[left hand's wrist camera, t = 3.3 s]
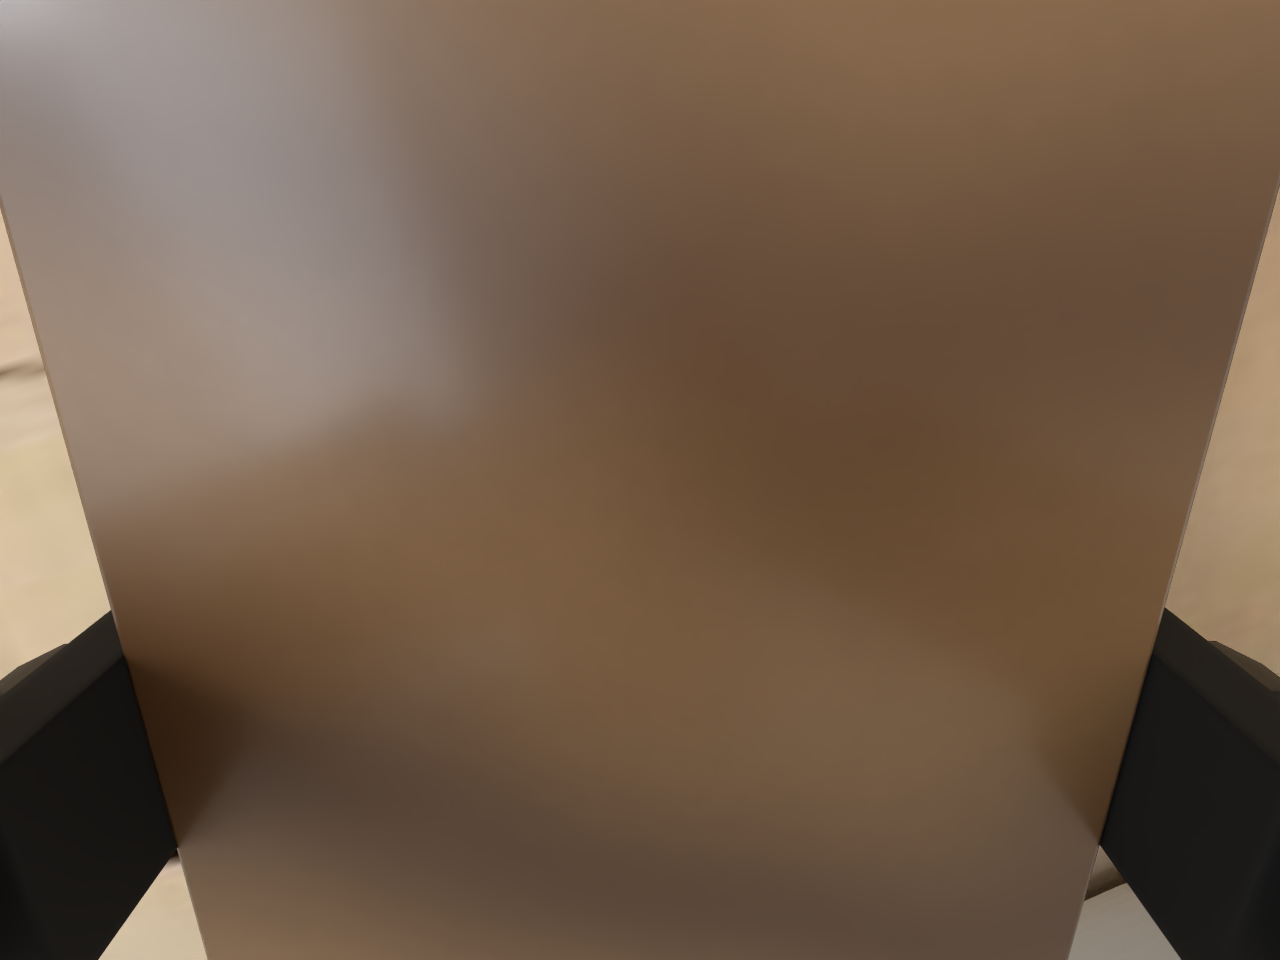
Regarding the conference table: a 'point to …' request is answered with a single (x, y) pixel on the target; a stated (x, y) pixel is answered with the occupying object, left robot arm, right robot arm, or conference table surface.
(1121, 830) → the left robot arm
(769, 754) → the cabinet
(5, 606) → the conference table surface
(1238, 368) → the conference table surface
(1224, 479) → the conference table surface
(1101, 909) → the projector
